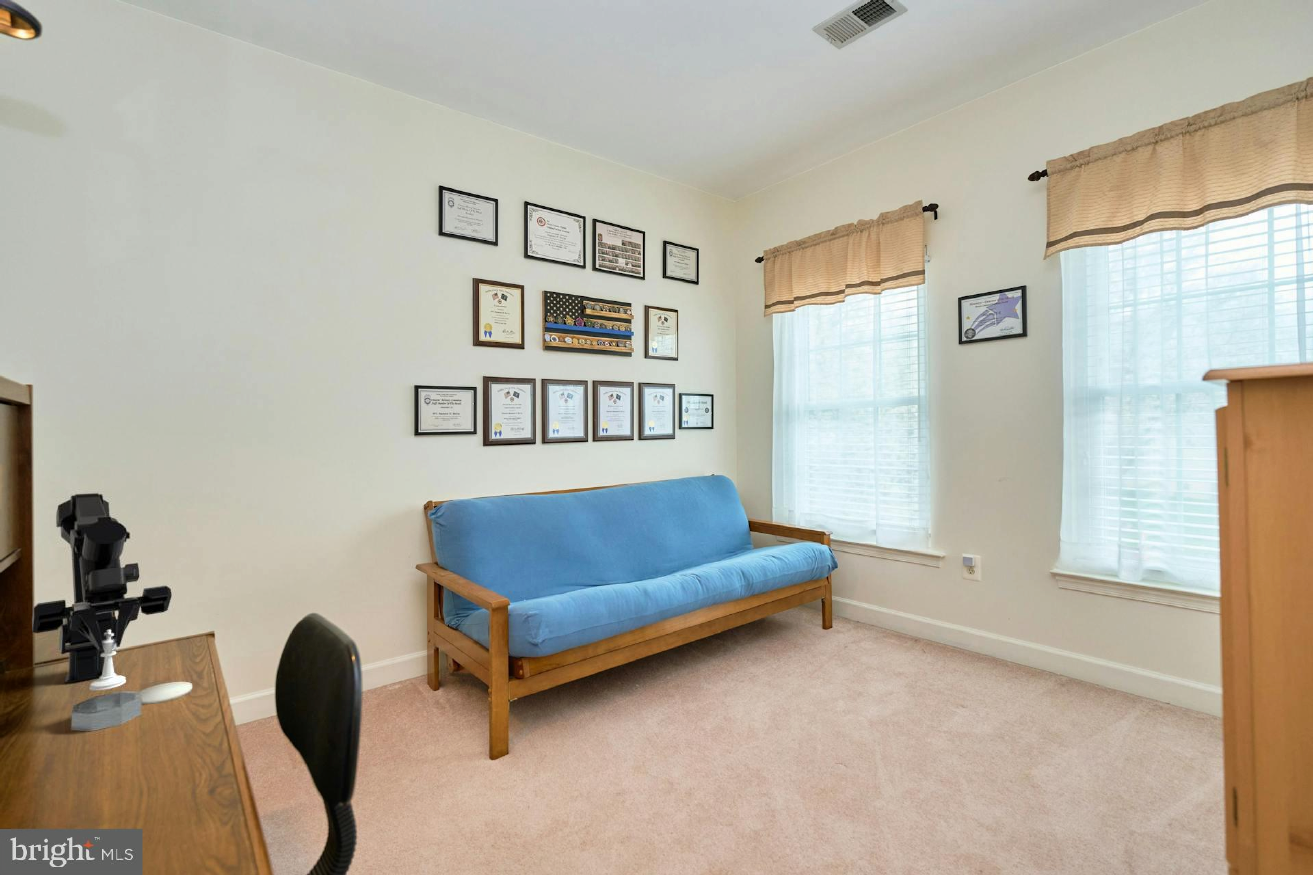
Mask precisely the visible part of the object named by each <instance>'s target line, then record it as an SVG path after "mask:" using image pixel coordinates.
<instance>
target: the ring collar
mask: <svg viewBox="0 0 1313 875" xmlns="http://www.w3.org/2000/svg"><path fill="white" fill-rule="evenodd" d="M141 715H142V704H141V692H140V691H136V690H135V691H133V690H130V691H129V690H120V691H115V692H110V693H105V694H101V695H100V694H99V695H96V696H92V697H90V698H89V699H88V698H87V699H85V700H84V701H81V702H79V703H76V704H73V706H72V709H71V731H78V732H79V731H82V732H95V731H98V730H99V731H100V730H102V729H107V728H112V727H116V726H120V725H123V724H125V723H128V722H129V721H131V720H133V719H135V718H137V717H140V716H141Z"/></svg>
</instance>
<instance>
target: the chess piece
mask: <svg viewBox="0 0 1313 875" xmlns="http://www.w3.org/2000/svg"><path fill="white" fill-rule="evenodd" d="M104 636H107V638H106V640H103V641H102V646H103V649H104V651H105V652H104V653H102V654H101V657H105V660H104V667H103V673H102V676H100V677H98V678H97V679H95V680H94V681H92V682H91V683H90V684H89V690H90V691H105V690H110V689H115V688H117V687H119V686H122V685H124V684H126V682H127V679H126V676H124V675H120V674H119V675H118V674H117V673H115V669H114V668H115V667H114V663H113V662H114V661H113V656H115V655H116V654H117V651H115V650H113V649H114V647H115V645H116V643H115V642H116V639H112V638H111V636H114V633H111V630H110V629H109V630H107V633H104Z"/></svg>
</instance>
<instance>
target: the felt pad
mask: <svg viewBox="0 0 1313 875" xmlns="http://www.w3.org/2000/svg"><path fill="white" fill-rule="evenodd" d="M192 690H193V683H192V682H187V681H173V682H172V681H171V682H165V683H160V684H157V685H153V686H150V687H147V688H144V689H142V690H139V692H141V705H147V704H157V703H163V702H167V701H172V700H175V699H177V698H181V697H183V696H186V695H187V694H189V693H190V692H191V691H192Z"/></svg>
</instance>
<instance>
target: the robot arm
mask: <svg viewBox="0 0 1313 875" xmlns="http://www.w3.org/2000/svg"><path fill="white" fill-rule="evenodd" d="M55 516H56V517H55V519H56V520H55V524H56V526H55V527H56V528H60V536H61V538H62V539H63V540H64V541H66V543H68V544H69V545H70V549H71V565H72V566H71V567H72V584H73V585H72V587H73V589H72V590H73V603H72V605H71V606H67V605H66V604H67V602H66V599H61V600H60V599H59V600H52V601H51V600H50V601H46V602H38V603H36V605H35V606H33V607H32V608H33V610H32V618H31V621H32V622H31V626H32V628H31V629H32V630H31V631H32V633H34V634H41V633H45V632H53V631H58V630H59V629H60V634H59V638H58V640H59V641H58V642H59V651H60V654H61V655H64V654H67V653H68V672H66V675H65V681H64V684H71V683H76V682H80V681H87V680H92V679H99V677H100V676H102V673H103V667H104V660H105V657H101V654H102V653H104V652H105V651H104V649H103V646H102V641H103V640H106V638H107V636H104V633H107V630H109V629H110V630H111V633H114V636H111V638H112V639H116V642H115V645H116V648H120V647H121V644H122V641H123V637H124V634H125V633H126V632H125V631H126V630H127V628H128V626H129V625H130V623H131V622H133V621H136V620H137V619H138V617H139V613H140V612H141V613H142V614H144V615H146V616H150V615H155V614H161V613H166V612H167V611H168V610H169V606H170V604H171V600H172V594H173V593H172V589H171V588H170V587H169V586H167V585H159V586H152V587H145V588H143V591H142V595H140V596H131V597H126V596H125V595H127V593H128V583H133V582H137V581H138V580H139V579H140V569H139V567H140V566H139V563H138V562H134V563H127V564H125V565H124V566H123V567H122V565H121V558H120V557H121V556H122V554H123V552H124V551H123V550H124V546H125V545H124V544H125V543H126V542H127V540H128V539H129V540H130V539H131V533H130V531H127V528H126V527H125V526H124V525H123V524H122V523H121V522H119V521H118V519H117V518H115V517H112V516H110V503H109V501H107V500H105V499H104V496H103V494H102V493H98V492H96V493H95V492H94V493H93V492H92V493H75V494H74V495H71V496H70V499H69V500H67V501H64V502H62V503H60V504H58V505H57V509H56V515H55ZM113 612H117V613H118V614H117V617H116V615H113Z"/></svg>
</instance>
